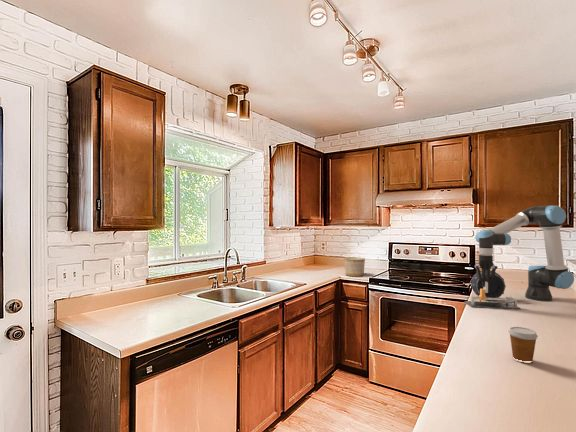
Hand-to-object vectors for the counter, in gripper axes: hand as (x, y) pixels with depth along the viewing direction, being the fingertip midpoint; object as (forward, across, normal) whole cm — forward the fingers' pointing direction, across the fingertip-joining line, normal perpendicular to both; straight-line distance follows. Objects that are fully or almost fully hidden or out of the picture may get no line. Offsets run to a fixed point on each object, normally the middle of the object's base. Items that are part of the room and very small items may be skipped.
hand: (485, 292), depth 210 cm
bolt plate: (+9, -5, -4) cm, 11 cm away
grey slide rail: (+9, -5, -1) cm, 11 cm away
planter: (+10, +77, -98) cm, 125 cm away
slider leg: (+8, +2, -1) cm, 8 cm away
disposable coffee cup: (+10, +19, +81) cm, 84 cm away
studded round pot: (+10, -10, -21) cm, 25 cm away
